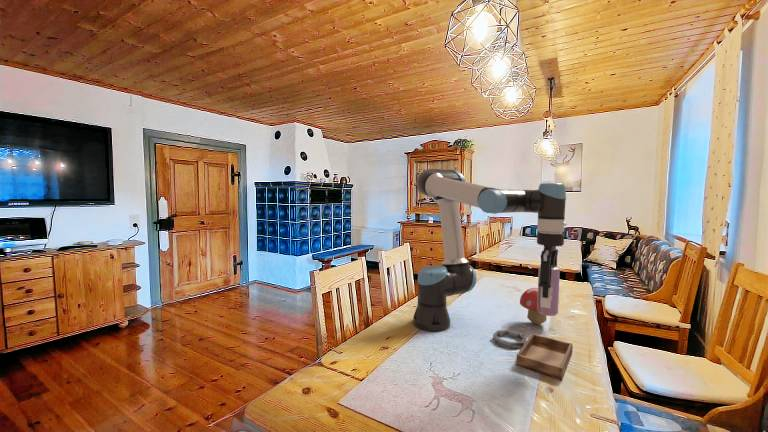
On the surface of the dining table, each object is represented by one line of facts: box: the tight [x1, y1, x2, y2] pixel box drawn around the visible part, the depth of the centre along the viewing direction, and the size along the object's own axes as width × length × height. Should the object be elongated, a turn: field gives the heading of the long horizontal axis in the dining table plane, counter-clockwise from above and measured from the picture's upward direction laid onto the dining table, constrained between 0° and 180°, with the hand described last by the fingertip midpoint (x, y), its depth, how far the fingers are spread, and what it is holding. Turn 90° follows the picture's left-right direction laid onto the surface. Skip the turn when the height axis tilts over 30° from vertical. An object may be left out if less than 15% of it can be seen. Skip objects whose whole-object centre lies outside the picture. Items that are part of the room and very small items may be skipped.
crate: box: [515, 333, 574, 381], centre depth 103 cm, size 13×20×4 cm, turn 142°
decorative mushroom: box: [519, 287, 547, 326], centre depth 131 cm, size 13×13×15 cm
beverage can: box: [537, 264, 561, 317], centre depth 101 cm, size 6×6×15 cm
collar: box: [492, 329, 528, 350], centre depth 115 cm, size 10×10×2 cm
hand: (547, 304), depth 101 cm, fingers closed on beverage can, 6 cm apart
